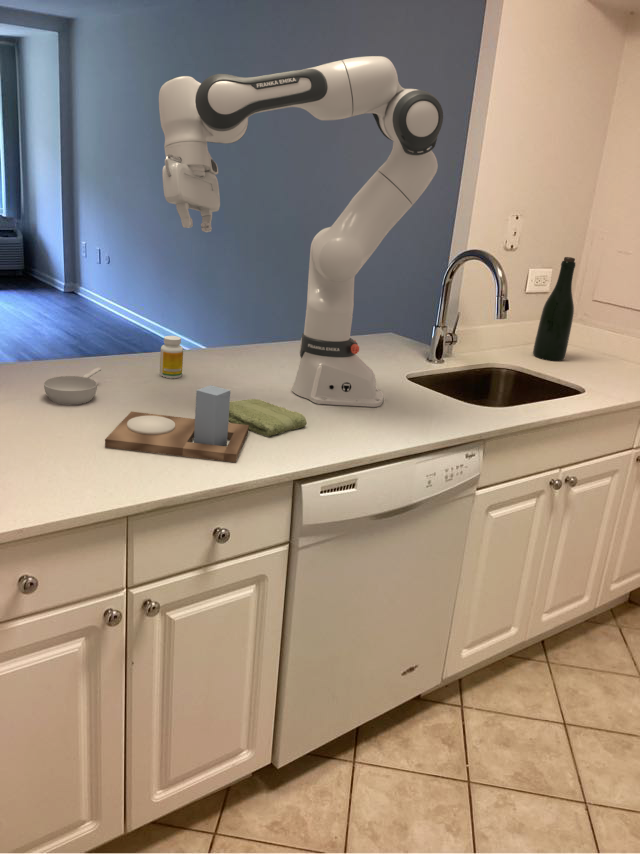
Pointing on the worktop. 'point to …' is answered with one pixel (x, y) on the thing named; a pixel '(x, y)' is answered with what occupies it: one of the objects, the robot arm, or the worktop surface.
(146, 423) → the felt coaster
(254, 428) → the washcloth
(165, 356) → the supplement bottle
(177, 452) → the walnut board
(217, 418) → the slate block
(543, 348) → the green wine bottle
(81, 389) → the saucepan
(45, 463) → the worktop surface
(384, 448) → the worktop surface
